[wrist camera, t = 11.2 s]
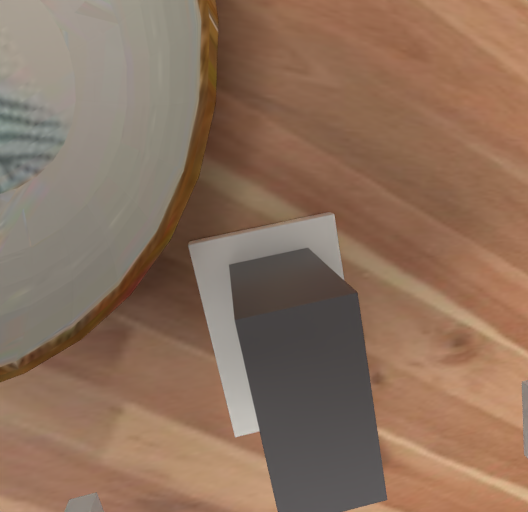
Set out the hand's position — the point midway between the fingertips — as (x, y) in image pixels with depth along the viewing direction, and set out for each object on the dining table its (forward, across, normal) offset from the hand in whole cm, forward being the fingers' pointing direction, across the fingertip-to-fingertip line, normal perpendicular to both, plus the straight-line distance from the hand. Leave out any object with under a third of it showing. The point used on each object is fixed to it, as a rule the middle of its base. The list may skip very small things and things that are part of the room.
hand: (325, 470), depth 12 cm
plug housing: (+11, +1, 0) cm, 11 cm away
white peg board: (+12, 0, 0) cm, 12 cm away
